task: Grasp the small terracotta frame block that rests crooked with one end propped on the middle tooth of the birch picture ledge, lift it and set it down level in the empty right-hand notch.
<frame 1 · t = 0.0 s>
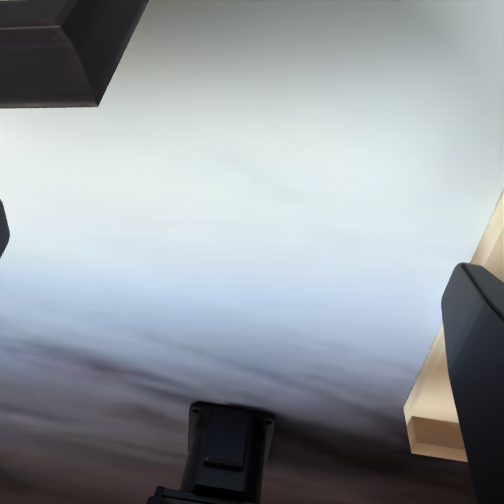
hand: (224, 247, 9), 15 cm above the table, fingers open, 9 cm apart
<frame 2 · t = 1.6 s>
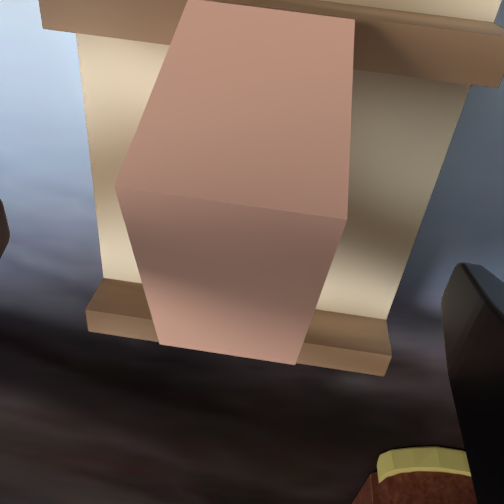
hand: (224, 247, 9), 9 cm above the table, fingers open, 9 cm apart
frame block: (261, 122, 14), point 3 cm above the table, tilted 21°, touching ledge
ledge: (278, 9, 15), on the table
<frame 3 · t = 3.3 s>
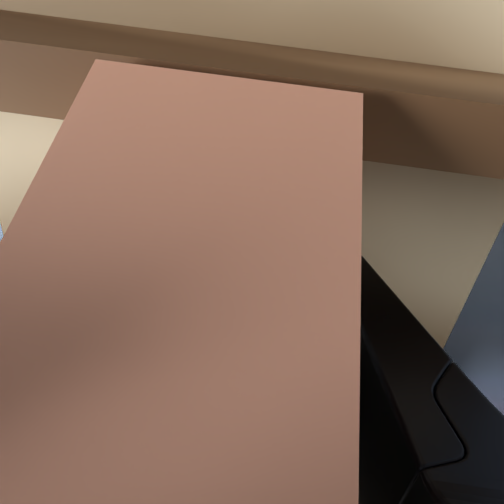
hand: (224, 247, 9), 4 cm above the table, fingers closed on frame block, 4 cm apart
frame block: (227, 219, 10), point 3 cm above the table, tilted 21°, touching gripper, ledge
ledge: (256, 55, 11), on the table
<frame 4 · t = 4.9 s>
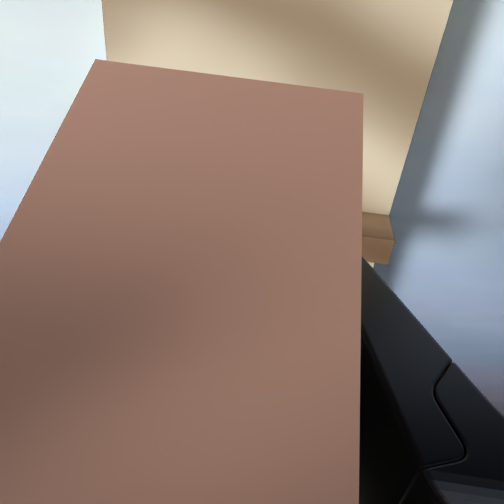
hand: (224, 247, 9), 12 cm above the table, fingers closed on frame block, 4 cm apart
frame block: (227, 219, 10), point 11 cm above the table, tilted 21°, touching gripper
ledge: (253, 192, 23), on the table
when the fingers open (4 cm above the table, at t = 7.1 s): frame block drops 2 cm, resting on ledge.
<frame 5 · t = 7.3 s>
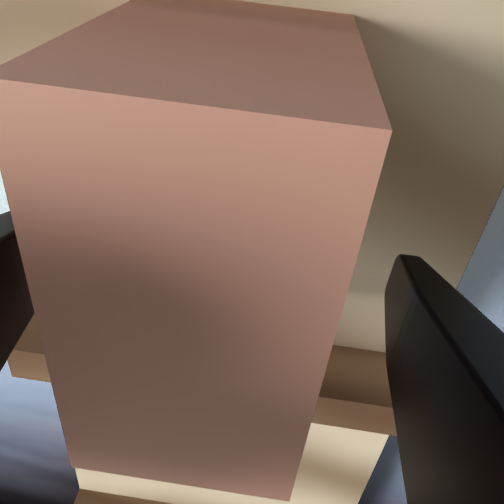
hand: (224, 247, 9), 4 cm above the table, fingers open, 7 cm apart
frame block: (238, 164, 11), point 1 cm above the table, touching ledge
ledge: (234, 310, 16), on the table
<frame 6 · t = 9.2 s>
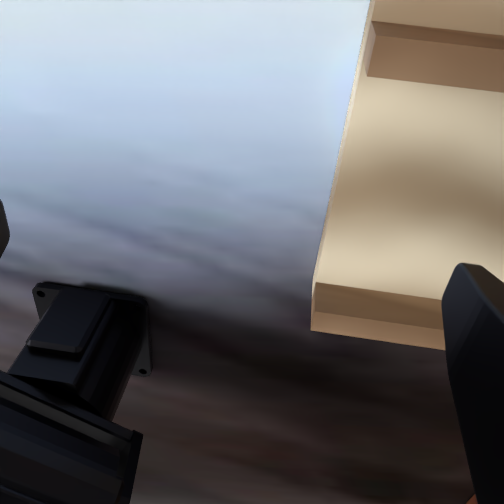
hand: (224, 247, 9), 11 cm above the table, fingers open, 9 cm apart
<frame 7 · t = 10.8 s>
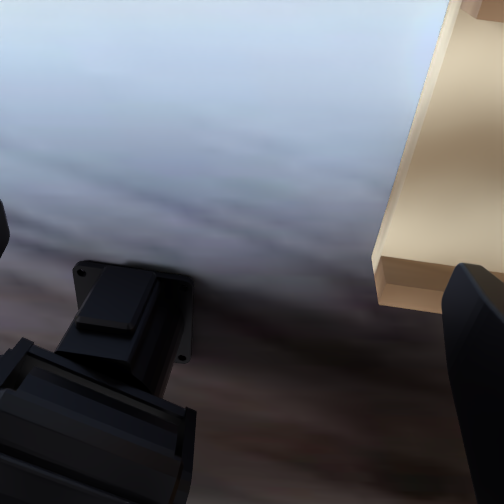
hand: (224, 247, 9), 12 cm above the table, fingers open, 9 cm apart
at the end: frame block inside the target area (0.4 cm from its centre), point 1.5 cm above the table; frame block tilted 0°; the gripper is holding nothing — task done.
